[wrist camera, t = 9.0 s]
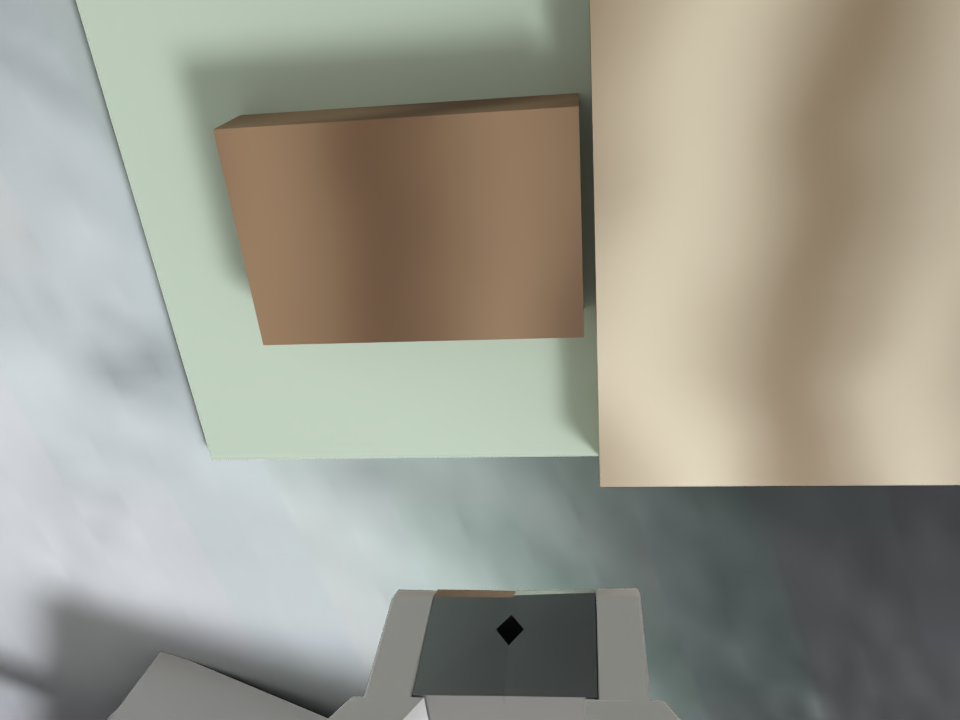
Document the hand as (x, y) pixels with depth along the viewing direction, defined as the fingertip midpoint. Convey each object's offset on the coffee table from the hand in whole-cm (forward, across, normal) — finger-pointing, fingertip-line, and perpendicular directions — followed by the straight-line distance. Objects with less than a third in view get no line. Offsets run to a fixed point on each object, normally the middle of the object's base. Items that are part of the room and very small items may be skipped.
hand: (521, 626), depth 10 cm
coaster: (+14, +4, -1) cm, 14 cm away
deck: (+14, -7, -1) cm, 16 cm away
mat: (+14, +5, -1) cm, 15 cm away
